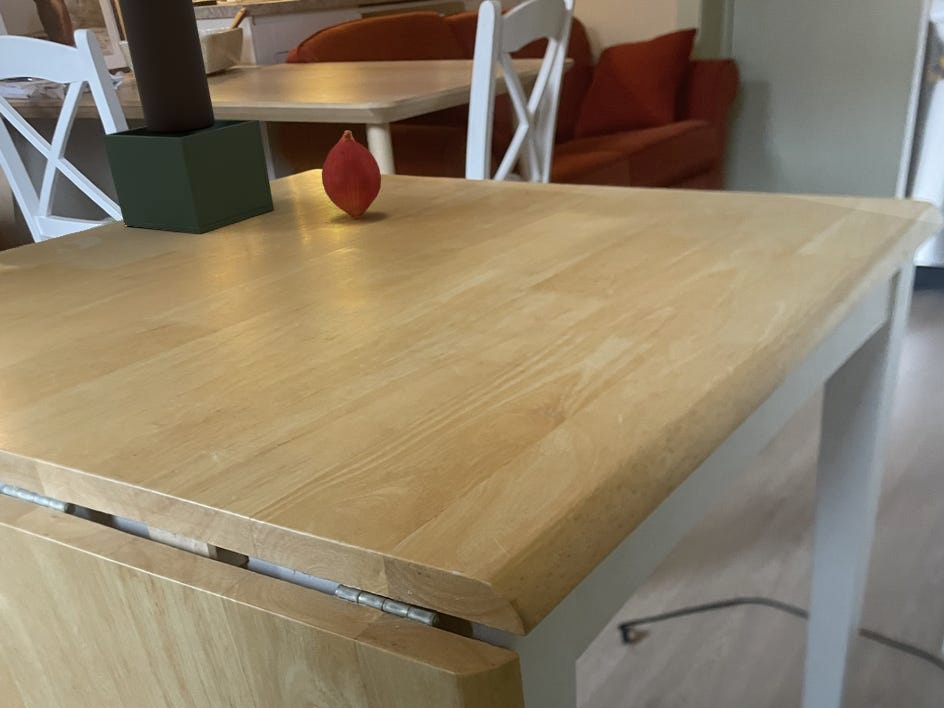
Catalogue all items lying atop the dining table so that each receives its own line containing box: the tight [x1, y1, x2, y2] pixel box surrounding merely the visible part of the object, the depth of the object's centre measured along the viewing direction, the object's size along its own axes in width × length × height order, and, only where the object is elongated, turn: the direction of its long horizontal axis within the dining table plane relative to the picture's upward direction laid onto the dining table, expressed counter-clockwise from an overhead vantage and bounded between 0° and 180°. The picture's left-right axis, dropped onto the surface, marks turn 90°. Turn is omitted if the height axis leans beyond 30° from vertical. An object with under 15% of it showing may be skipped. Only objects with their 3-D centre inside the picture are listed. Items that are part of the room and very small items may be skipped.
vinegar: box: [117, 0, 216, 134], centre depth 96 cm, size 7×7×20 cm
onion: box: [321, 129, 382, 219], centre depth 99 cm, size 6×6×8 cm
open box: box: [102, 118, 275, 235], centre depth 104 cm, size 11×11×9 cm
